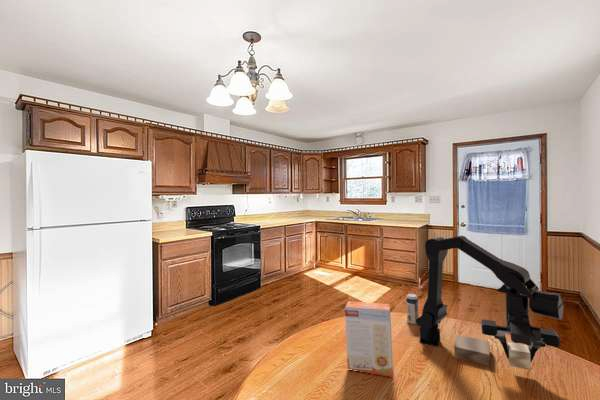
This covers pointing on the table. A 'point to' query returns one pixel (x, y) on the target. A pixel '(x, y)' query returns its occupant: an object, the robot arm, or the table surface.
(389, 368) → the cracker box
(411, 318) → the white capped bottle
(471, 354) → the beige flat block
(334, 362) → the table surface
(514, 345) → the maple cube
